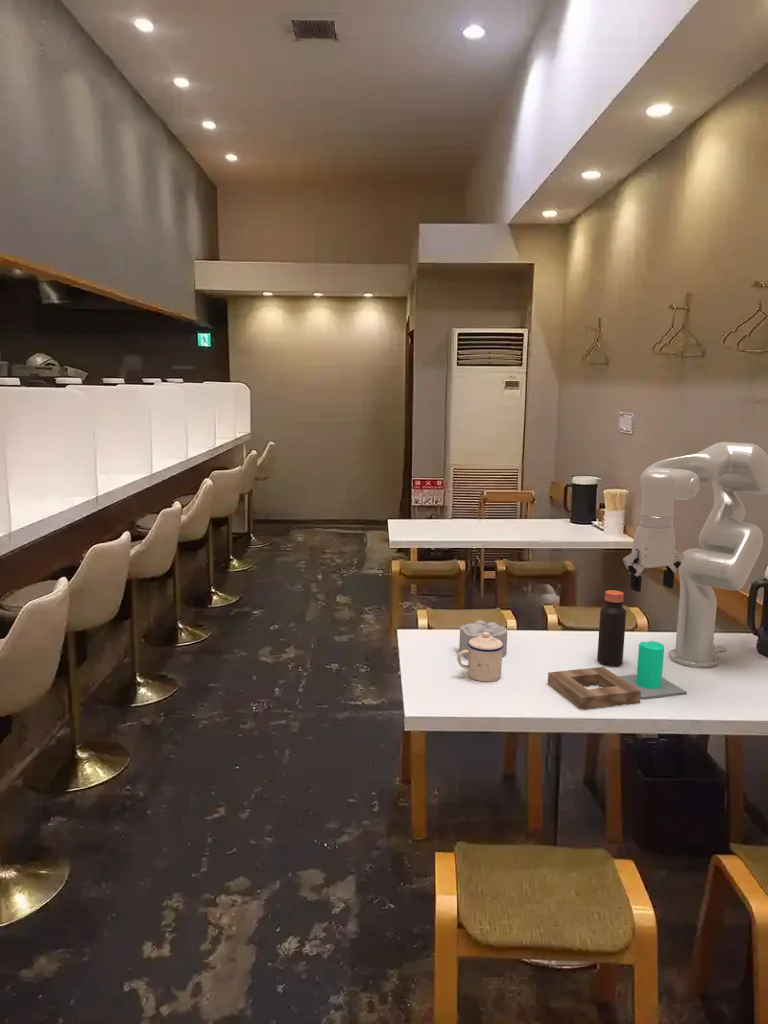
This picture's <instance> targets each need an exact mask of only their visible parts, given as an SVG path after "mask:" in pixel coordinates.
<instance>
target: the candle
mask: <svg viewBox="0 0 768 1024" xmlns="http://www.w3.org/2000/svg"><path fill="white" fill-rule="evenodd" d="M637 651H638V654H637V667H636V668H637V669H636V674H637V678H636V683H637V685H639V686H641V687H644V688H648V689H657V688H660V687H661V683H662V677H663V670H664V658H665V657H664V656H665V644H663V643H660V642H658V641H654V640H650V641H640V642H639V644H638V650H637Z"/></svg>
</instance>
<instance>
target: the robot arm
mask: <svg viewBox="0 0 768 1024" xmlns="http://www.w3.org/2000/svg"><path fill="white" fill-rule="evenodd" d="M710 483H712V490H713V501H714V502H713V507H712V509H711V511H710V513H709V515H708V516H707V519H706V520H705V522H704V524H703V527H702V528H701V530H700V533H699V536H698V544H699V545H700V547H701V548H696V547H695V548H694V547H692V548H689V549H686V550H684V551H683V552H680V551H679V550H676V534H675V528H674V527H673V525H674V524H673V522H676V521H677V520H676V516H675V515H674V509H675V507H674V506H675V500H677V501H680V500H681V501H687V500H691V499H692V498H694V497H696V495H697V494H698V493H699V491H700V489H701V488H700V487H701V485H707V484H710ZM639 487H640V489H641V504H640V517H639V518H640V520H639V522H640V523H639V525H638V526H637V527H636V528H635V533H634V536H633V541H632V548H631V553H629V554H628V555H626V556H625V557H623V559H622V562H623V564H624V566H625V569H626V570H627V572H628V574H630V585H629V586H630V589H631V590H633V591H635V592H637V593H640V592H641V590H642V576H641V574H642V573H643V571H644V570H645V569H655V568H664V570H663V575H662V578H663V580H662V585H663V587H666V588H668V589H674V583H675V574H676V573H677V572H678V576H679V601H678V602H679V603H678V613H677V626H676V635H675V636H676V638H675V646H674V647H675V648H673V649H671V650H670V651H669V652H668V657H669V659H670V660H671V661H673V662H675V663H677V664H680V665H683V666H685V667H686V666H687V667H691V668H700V669H701V668H702V669H704V668H712V667H715V666H717V665H718V663H719V659H718V657H717V656H716V655H718V653H719V654H721V653H727V651H728V650H727V649H728V647H727V645H717V644H715V643H714V637H715V629H716V628H715V627H716V616H717V607H718V603H717V602H718V601H717V596H716V594H715V593H716V592H714V589H713V588H717V589H722V590H726V591H727V590H728V591H738V590H740V589H742V588H743V587H744V586H745V584H746V582H747V581H748V579H749V576H750V574H751V572H752V570H753V568H754V567H755V564H756V562H757V561H758V558H759V556H760V553H761V552H762V548H763V544H764V534H763V531H762V528H760V527H759V526H758V525H757V524H755V523H754V524H753V523H750V522H745V521H744V522H743V520H744V518H745V516H746V513H747V511H746V509H745V508H746V507H745V506H744V503H743V502H742V500H741V499H740V497H739V496H738V494H737V492H738V493H747V494H757V495H768V454H767V452H766V451H765V450H763V449H762V448H761V446H759V445H758V444H755V443H750V442H730V441H729V442H728V441H720V442H717V443H714V444H712V445H710V446H708V447H706V448H704V449H702V450H700V451H698V452H696V453H694V454H687V455H682V456H677V457H671V458H667V459H662V460H659V461H657V462H655V463H653V464H650V465H649V466H648V467H647V468H645V469H644V471H643V472H642V473H641V475H640V479H639Z"/></svg>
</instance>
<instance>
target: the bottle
mask: <svg viewBox="0 0 768 1024" xmlns="http://www.w3.org/2000/svg"><path fill="white" fill-rule="evenodd" d="M624 595H625V593H624V592H623V591H621V590H616V589H615V590H614V589H613V590H611V589H609V590H605V592H604V602H605V604H604V605H603V606H601V608H600V611H599V626H598V639H597V641H598V642H597V653H596V654H597V656H596V657H597V658H596V661H597V663H599V664H600V665H602V666H606V667H614V668H615V667H620V666H622V665H623V662H624V661H623V660H624V651H625V650H624V648H625V647H624V646H625V633H626V622H627V621H626V619H627V611H626V609H625V608H624V607H623V604H624V600H625V599H624Z"/></svg>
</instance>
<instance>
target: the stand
mask: <svg viewBox="0 0 768 1024" xmlns="http://www.w3.org/2000/svg"><path fill="white" fill-rule="evenodd" d="M619 676H620V675H617V674H616V673H614V672H612V671H611V670H609V669H608V668H606V667H604V666H598V667H589V668H580V669H570V670H559V671H548V673H547V685H548V686H550V687H551V688H552V689H554V690H555V691H556V692H557V693H559V694H560V695H562V697H564V698H565V699H567V701H569V702H571V704H573V705H574V706H575V707H577V708H578V709H579V708H580V709H579V710H581V709H585V710H588V709H587V708H593V709H597V708H596V707H601V708H605V707H604V706H609V707H614V706H615V705H618V706H623V704H626V705H631V704H632V705H634V704H640V703H641V699H640V698H641V691H640V690H639V689H637V688H636V687H634V686H633V685H631V684H629V683H628V682H626V681H625V680H623V679H622V678H620V677H619ZM590 685H594V686H598V685H599V686H598V688H597V687H596V688H590V689H589V688H586V687H591V686H590ZM584 686H585V687H584ZM601 687H602V688H601Z"/></svg>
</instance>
